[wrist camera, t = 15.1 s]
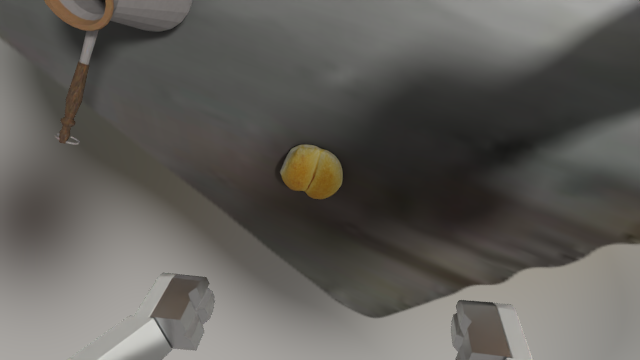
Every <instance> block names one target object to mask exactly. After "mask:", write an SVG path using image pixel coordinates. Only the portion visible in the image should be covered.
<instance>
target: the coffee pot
mask: <svg viewBox="0 0 640 360" xmlns="http://www.w3.org/2000/svg"><path fill="white" fill-rule="evenodd" d="M44 1H45V3H46V4H47V5H48V7H49V8H50V9H51V10H52V11H53V12H54V13H55V14H56V15H57V16H58V17H59V18H60V19H62V20H63V21H64V22H66V23H68V24H69V25H71V26H73V27H75V28H78V29H81V30H87V31H86V36H85V40H84V44H83V48H82V53H81V57H80V61H79V62H78V64H77V67H76V70H75V73H74V76H73V79H72V82H71V85H70V88H69V91H68V94H67V97H66V109H65V117H64V118H62V119H61V123H62V124H63V127H62V130H61V131H60V134H56V135H55V137H56V138H57V139H58V140H59V142H60V143H68V144H74V145H75V144H79V143H80V141H79V140H78V139H76V138H75V137H72V136H70V128H71V127H72V126H74V125H75V121H74V117H75V115H76V113H77V110H78V108H79V106H80V105H81V102H82V97H83V92H84V88H85V83H86V78H87V73H88V68H89V61H90V58H91V55H92V51H93V48H94V45H95V42H96V38H97V35H98V32H99V29H102V28H103V27H105V26H106V25H107V24H108V23H109V21H113V22H117V23H120V24H124V25H127V26H131V27H135V28H138V29H142V30H145V31H156V32H160V31H164V30H169V29H172V28H174V27H175V26H177V25H178V24H180V23H181V22H182V21H183V19H184V18H185V17H186V15H187V14H188V13H189V11H190V8H191V5H192V2H193V0H44ZM58 135H59V138H58V137H57V136H58ZM69 137H70V138H73V139H75V140H76V141H78V143H72V142H68V141H67V140H68V138H69Z"/></svg>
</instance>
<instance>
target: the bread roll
mask: <svg viewBox="0 0 640 360" xmlns="http://www.w3.org/2000/svg"><path fill="white" fill-rule="evenodd" d="M280 174H281V176H282V179H283V181H284V183H285V184H286V185H287V186H288V187H289V188H290V189H292V190H296V191H305V192H306V194H307V195H308V196H310V197H312V198H314V199H325V198H327V197H329V196H331V195H333V194H334V193H335V192H337V190H338V189H339V188H340V186H341V184H342V181H343V171H342V166H341V164H340V162H339V160H338V159H337V157H336V156H335V155H334V154H332V153H331V152H329V151H327V150H324V149H321V148H319V147H317V146H314V145H308V144H305V145H298V146H296V147H294V148H292V149H291V150H290V152H289V153H288V155H287V157H286V159H285V161H284V164H283V166H282V169H281V171H280Z"/></svg>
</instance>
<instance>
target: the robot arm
mask: <svg viewBox="0 0 640 360" xmlns="http://www.w3.org/2000/svg"><path fill="white" fill-rule="evenodd" d="M208 285H209V281H208V279H207V278H206V277H199V276H189V275H180V274H171V273H162V274H161V275H160V276H159V277H158V278H157V280H156V281H155V283H154V284H153V286H152V288H151V289H150V291H149V293H148V294H147V296H146V297H145V299H144V301H143V302H142V304H141V305H140V307H139V309H138V310H137V312H136V313H135V315H134V316H132V315H131V316H129V317H127V318H126V319H124V320H123V321H121V322H120V323H119V324H117V325H116V326H115V327H113V328H111V329H110V330H109V331H107V332H106V333H104V334H103V335H102V336H100V337H99V338H97V339H96V340H94V341H93V342H92V343H90V344H89V345H87V346H86V347H85V348H83V349H82V350H80V351H79V352H77V353H76V354H75V355H73V356H72V357H70V358H69V359H68V360H162V359H163V358H164V357H165V356H166V355H167V354H168V353H169V352H170V351H171V350H172V348H174V349H185V350H197V347H198V345H199V343H200V340H201V338H202V336H203V333H204V328H203V324H204V323H205V322H207V321H208V320H209V319H210V317H211V315H212V312H213V308H214V302H215V301H214V294H213V292H212V291H211V290H210V289H209V288H208ZM456 309H457V313H456V314H454V315H453V318H452V324H451V325H452V326H451V336H452V343H453V346H454V348H455V349H456V350H457V351H458V354H457V357H456V360H533V359H532V356H531V353H530V350H529V347H528V344H527V342H526V338H525V335H524V332H523V329H522V327H521V324H520V321H519V318H518V315H517V312H516V309H515V308H514V307H513V305H511V304H498V303H492V302H479V301H466V300H459V301H458V302H457V305H456Z"/></svg>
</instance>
